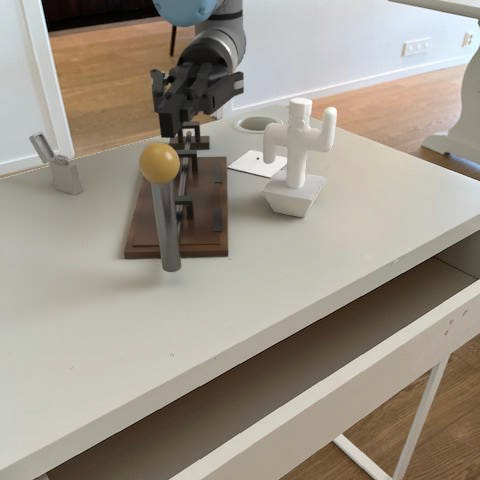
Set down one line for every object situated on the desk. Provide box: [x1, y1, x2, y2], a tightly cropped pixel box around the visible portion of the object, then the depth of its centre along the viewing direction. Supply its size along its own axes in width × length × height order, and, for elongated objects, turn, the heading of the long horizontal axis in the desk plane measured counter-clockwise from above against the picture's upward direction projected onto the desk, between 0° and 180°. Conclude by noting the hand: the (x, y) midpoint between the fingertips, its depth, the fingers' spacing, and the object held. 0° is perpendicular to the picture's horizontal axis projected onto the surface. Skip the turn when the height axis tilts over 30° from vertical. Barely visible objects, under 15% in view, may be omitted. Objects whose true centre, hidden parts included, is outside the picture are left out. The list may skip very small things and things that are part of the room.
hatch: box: [123, 149, 229, 259], centre depth 73 cm, size 28×13×4 cm, turn 1°
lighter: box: [28, 131, 83, 196], centre depth 76 cm, size 7×2×8 cm, turn 59°
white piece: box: [227, 149, 287, 179], centre depth 84 cm, size 8×8×1 cm
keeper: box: [168, 120, 211, 150], centre depth 89 cm, size 3×7×4 cm, turn 91°
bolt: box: [138, 130, 193, 273], centre depth 69 cm, size 42×4×15 cm, turn 1°
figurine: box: [261, 97, 338, 219], centre depth 68 cm, size 7×9×15 cm
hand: (166, 125), depth 56 cm, fingers closed
